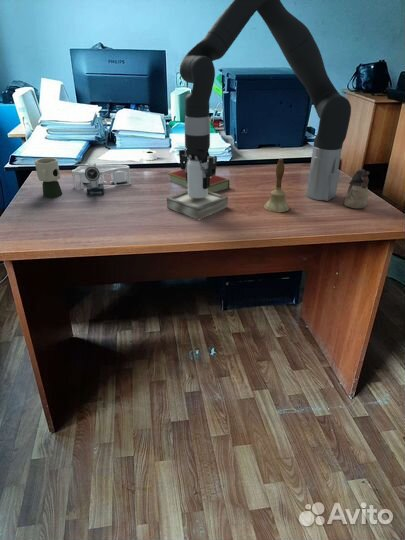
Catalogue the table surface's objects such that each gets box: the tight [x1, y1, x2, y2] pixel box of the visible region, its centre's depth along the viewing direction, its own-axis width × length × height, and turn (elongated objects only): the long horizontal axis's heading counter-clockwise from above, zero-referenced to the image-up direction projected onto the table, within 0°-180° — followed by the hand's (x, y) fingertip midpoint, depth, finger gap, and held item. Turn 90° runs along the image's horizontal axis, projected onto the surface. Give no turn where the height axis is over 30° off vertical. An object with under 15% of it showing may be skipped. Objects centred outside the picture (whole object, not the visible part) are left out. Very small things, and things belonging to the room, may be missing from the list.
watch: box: [85, 163, 105, 196], centre depth 137 cm, size 6×8×11 cm
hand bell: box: [263, 158, 290, 213], centre depth 127 cm, size 8×8×16 cm
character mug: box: [34, 157, 63, 199], centre depth 135 cm, size 11×7×13 cm, turn 4°
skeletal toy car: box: [71, 164, 132, 190], centre depth 146 cm, size 20×11×7 cm, turn 94°
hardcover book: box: [167, 168, 231, 193], centre depth 149 cm, size 12×21×4 cm, turn 44°
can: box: [187, 159, 208, 199], centre depth 125 cm, size 6×6×12 cm
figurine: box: [343, 168, 370, 209], centre depth 131 cm, size 7×7×12 cm
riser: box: [166, 189, 229, 220], centre depth 130 cm, size 14×14×4 cm
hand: (197, 185), depth 127 cm, fingers closed on can, 6 cm apart
